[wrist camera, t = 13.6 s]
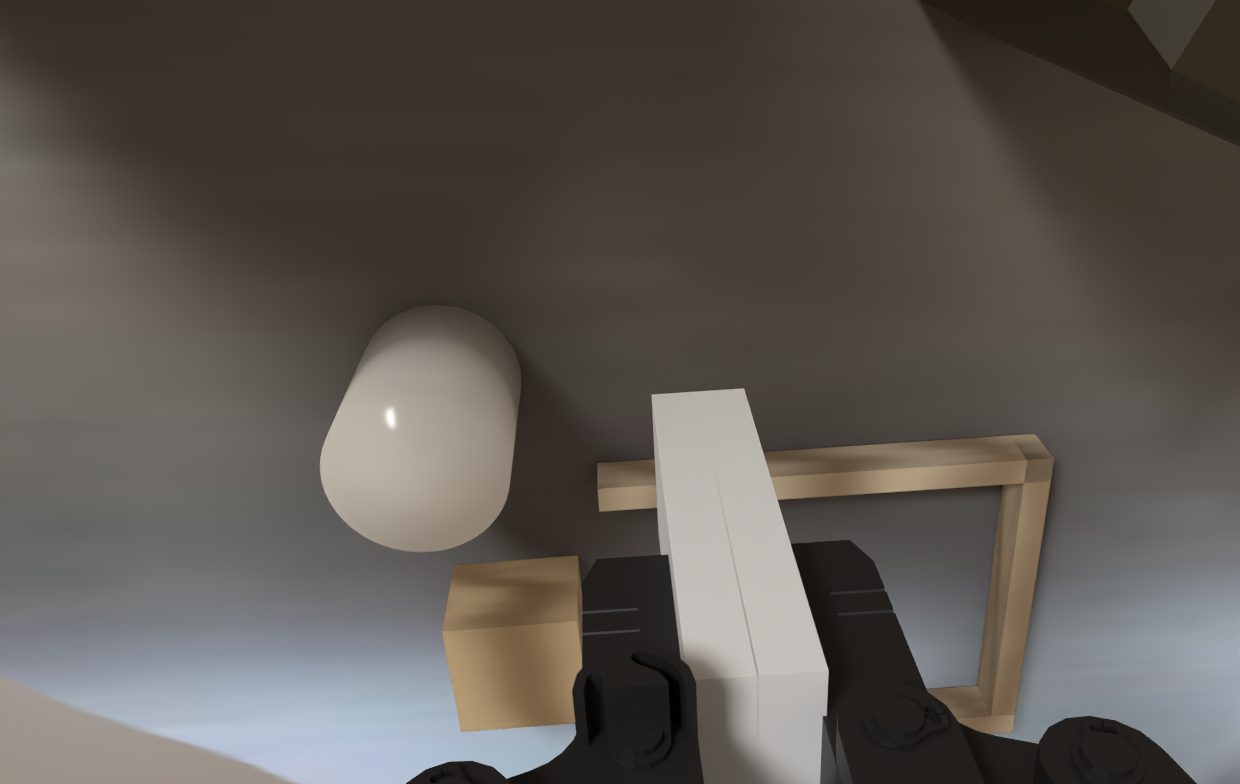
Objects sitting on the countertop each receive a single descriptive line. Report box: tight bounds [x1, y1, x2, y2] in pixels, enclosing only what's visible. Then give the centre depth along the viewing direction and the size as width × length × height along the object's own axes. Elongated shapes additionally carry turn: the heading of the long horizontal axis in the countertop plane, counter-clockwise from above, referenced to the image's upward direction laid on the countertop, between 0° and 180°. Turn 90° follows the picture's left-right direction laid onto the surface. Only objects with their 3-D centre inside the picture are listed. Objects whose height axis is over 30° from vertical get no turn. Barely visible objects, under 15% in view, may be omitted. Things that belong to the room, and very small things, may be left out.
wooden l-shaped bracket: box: [597, 434, 1054, 734], centre depth 51 cm, size 20×16×2 cm
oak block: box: [442, 555, 582, 732], centre depth 50 cm, size 6×6×5 cm
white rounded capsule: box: [320, 305, 522, 552], centre depth 42 cm, size 7×7×8 cm
